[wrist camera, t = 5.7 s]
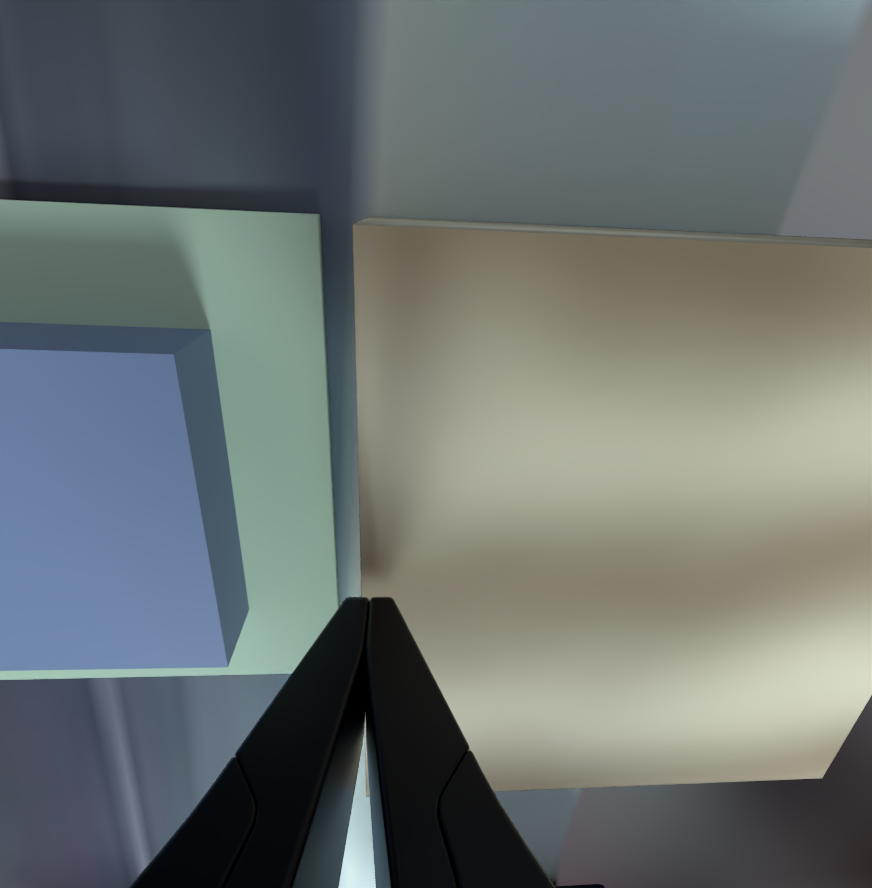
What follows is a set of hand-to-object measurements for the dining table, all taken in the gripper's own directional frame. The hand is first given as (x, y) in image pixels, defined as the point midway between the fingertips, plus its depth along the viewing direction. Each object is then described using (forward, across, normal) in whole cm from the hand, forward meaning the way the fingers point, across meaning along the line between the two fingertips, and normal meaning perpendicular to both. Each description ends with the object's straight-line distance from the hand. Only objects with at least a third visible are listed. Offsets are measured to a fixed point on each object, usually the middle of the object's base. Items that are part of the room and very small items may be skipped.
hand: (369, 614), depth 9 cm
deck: (+5, -6, 0) cm, 7 cm away
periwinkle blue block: (+2, +7, 0) cm, 7 cm away
